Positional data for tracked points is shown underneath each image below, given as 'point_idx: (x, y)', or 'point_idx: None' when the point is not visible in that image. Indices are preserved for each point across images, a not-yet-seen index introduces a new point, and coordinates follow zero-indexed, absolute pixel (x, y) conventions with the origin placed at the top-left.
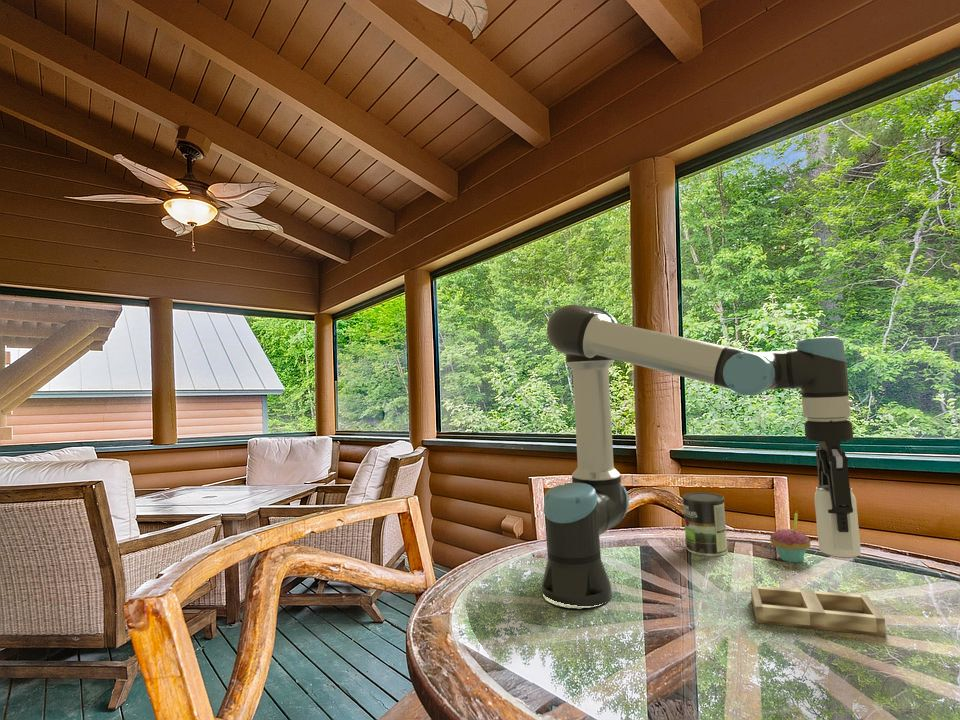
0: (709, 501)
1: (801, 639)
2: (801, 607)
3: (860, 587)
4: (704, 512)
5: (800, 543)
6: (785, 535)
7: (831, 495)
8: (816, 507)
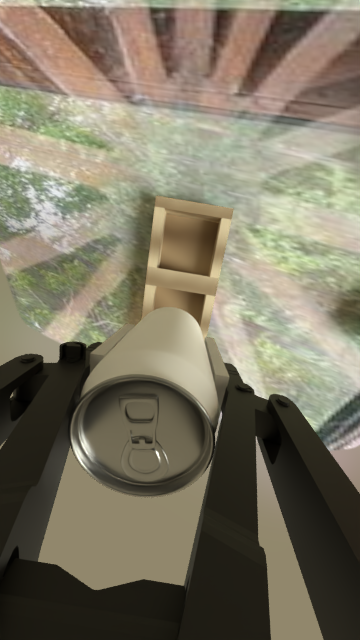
0: None
1: (122, 246)
2: (200, 273)
3: (269, 365)
4: None
5: None
6: None
7: (43, 389)
8: (151, 332)
